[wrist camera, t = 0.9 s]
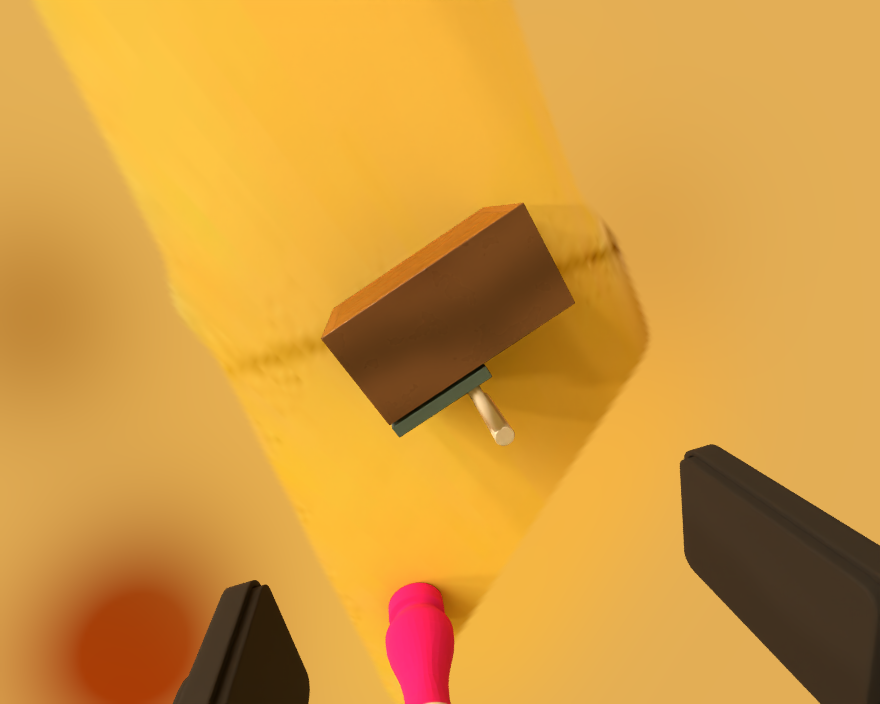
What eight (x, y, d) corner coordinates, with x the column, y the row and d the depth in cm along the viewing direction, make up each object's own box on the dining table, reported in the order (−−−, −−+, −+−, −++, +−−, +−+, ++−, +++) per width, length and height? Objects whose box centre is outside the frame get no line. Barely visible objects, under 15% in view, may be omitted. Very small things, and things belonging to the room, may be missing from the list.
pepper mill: (458, 597, 49) (514, 828, 31) (416, 636, 50) (445, 886, 31) (414, 568, 47) (444, 799, 28) (370, 610, 48) (372, 862, 29)
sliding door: (386, 380, 40) (391, 428, 31) (459, 332, 39) (485, 366, 30) (425, 432, 42) (441, 490, 33) (494, 387, 42) (529, 433, 33)
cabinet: (332, 308, 37) (320, 338, 28) (484, 207, 37) (523, 202, 27) (384, 377, 40) (389, 425, 31) (526, 283, 39) (575, 303, 30)
